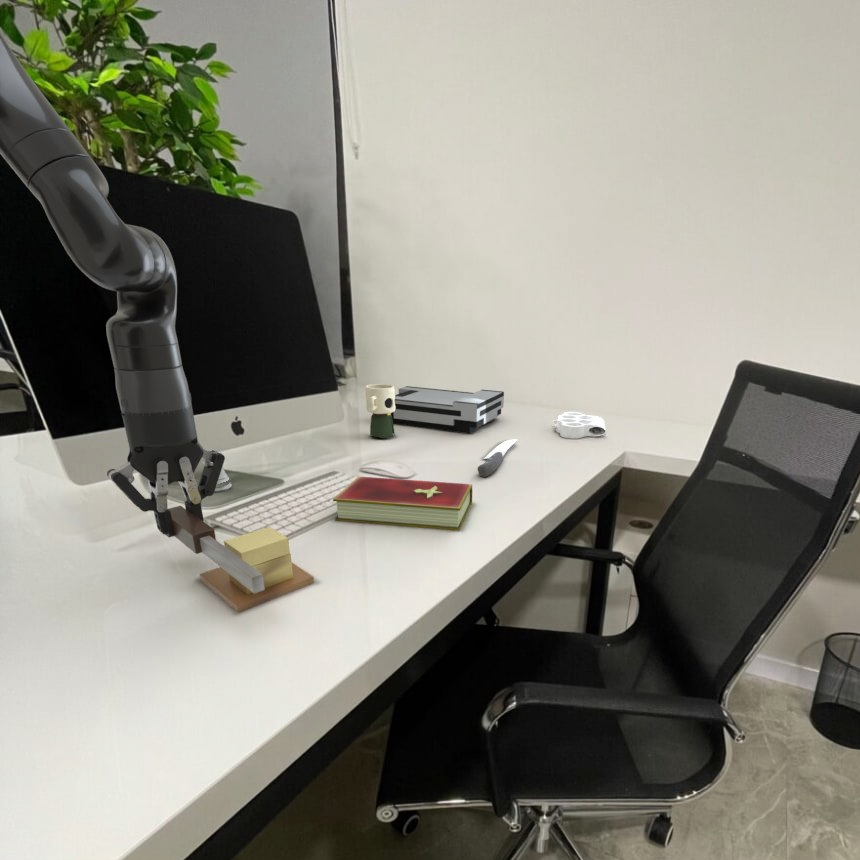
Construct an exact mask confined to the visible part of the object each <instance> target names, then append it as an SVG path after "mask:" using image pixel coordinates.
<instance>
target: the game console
mask: <svg viewBox="0 0 860 860" xmlns="http://www.w3.org/2000/svg"><path fill="white" fill-rule="evenodd" d="M504 399H505V391H503V390H502V391H501V390H490V389H479V390H478V391H475V392H469V391H459V390H449V389H439V388H429V387H421V386H410V385H409V386H408V385H406V386H404V387H399V388H398V394H395V406H396V409H395V411H394V412H392V413H391V416H392V420H393V425H397V426H407V427H414V428H423V429H424V428H425V429H430V430H431V429H432V430H437V431H443V432H444V431H446V432H452V433H453V432H454V433H461V434H472V433H473V432H476V431H478V430H479V427H481V426H483V425H485V424H489V423H491V422H492V421H494V420H496V419H497V417H498V416H500V415H501V414H502V409H503V408H504V407H505V406H504V404H505V403H504V402H505V400H504Z"/></svg>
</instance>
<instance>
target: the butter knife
mask: <svg viewBox="0 0 860 860" xmlns="http://www.w3.org/2000/svg"><path fill="white" fill-rule="evenodd" d="M167 509H168V510H169V511H170V512H171V517H172V525H173V529H174V534H175V536H174V537H175V538H176V539H177V540H178V541H179V542H181V543H182V544H183V545H185V546H186V548H188V549H189V550H190V551H192V552H193V553H194V554H196V555H198V554H201V553H202V554H204V555H205V556H206V557H207V558H209V559H210V560H211V561H212V562H214V563H215V564H216V565H217V566H219V567H221V568H222V569H224V570H225V571H226V572H228V573H229V574H230V575H231V576H233V577H234V578H235V579H236V580H238V581H239V582H240V583H241V584H243V585H244V586H245V587H246V588H248V589H249V590H250V591H251V592H253V593H254V594H255V593H258V592H260V591H263V590H265V589H264V582H263V575H262V574H261V573H260V572H259V571H257V570H256V569H255V568H253V567H252V566H250V565H249V564H248V563H246V562H245V561H244V560H242V559H241V558H240V557H238V556H237V555H235V554H234V553H233V552H231V551H230V550H229V549H227V548H226V547H225V545H224V544H222V543H221V542H220V541H218V540H217V537H216V531H215V529H214V527H212V526H210V525H209V524H208V523H206V522H205V521H202V520H200V519H199V518H197V517H196V516H195V515H193V514H192V513H190V512H189V511H188V510H186V507H183V506H182V505H177V506H174V507H169V508H167Z"/></svg>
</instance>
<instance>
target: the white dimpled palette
mask: <svg viewBox="0 0 860 860" xmlns="http://www.w3.org/2000/svg"><path fill="white" fill-rule="evenodd" d="M552 422H553V423H554V424H552V425H551V427H552V428H554V429H555V432H556V433H558V434H560V437H561V438H564V439H569V440H571V439H572V440H576V439H582V438H585V437H586V438H587V437H590V438H591V437H592V438H595V437H602V436H604V435H605V434H606V432H607V429H606V424H605V419H603V418H602V417H600V416H597V415H591V414H590V415H588V414H584V413H583V412H577V411H565V412H563V413H562V414H559V415H557V416H556V419H554V420H552Z"/></svg>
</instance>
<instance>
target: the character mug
mask: <svg viewBox="0 0 860 860" xmlns="http://www.w3.org/2000/svg"><path fill="white" fill-rule="evenodd" d="M395 395H396V387H395V385H394V384H387V383H374V384H367V385H365V400H366V401H365V402H366V403H365V404H366V411H367V413H370V414H371V416H370V427H369V436H371V437H375V438H378V439H388V438H389V439H390V438H393V437H394V436H396V433H395V426H394V424H393V420H392V416H391V413H392V412H394V411H395V409H396V406H395Z"/></svg>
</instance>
